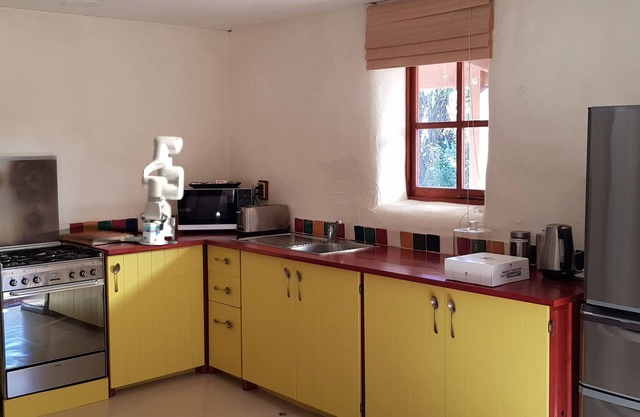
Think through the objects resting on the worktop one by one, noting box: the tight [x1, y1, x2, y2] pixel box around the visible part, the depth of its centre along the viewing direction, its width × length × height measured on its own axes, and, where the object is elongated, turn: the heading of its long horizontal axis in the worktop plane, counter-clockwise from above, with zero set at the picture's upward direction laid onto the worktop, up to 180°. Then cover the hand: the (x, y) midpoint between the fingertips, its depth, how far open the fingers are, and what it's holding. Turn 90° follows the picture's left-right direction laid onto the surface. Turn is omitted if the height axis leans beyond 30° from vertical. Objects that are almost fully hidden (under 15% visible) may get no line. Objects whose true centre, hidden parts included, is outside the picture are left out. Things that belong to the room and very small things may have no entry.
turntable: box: [123, 234, 169, 246], centre depth 424 cm, size 16×26×3 cm, turn 74°
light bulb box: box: [142, 221, 165, 243], centre depth 422 cm, size 11×7×11 cm, turn 145°
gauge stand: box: [167, 217, 178, 245], centre depth 427 cm, size 4×5×15 cm
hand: (153, 229), depth 422 cm, fingers open, 9 cm apart
